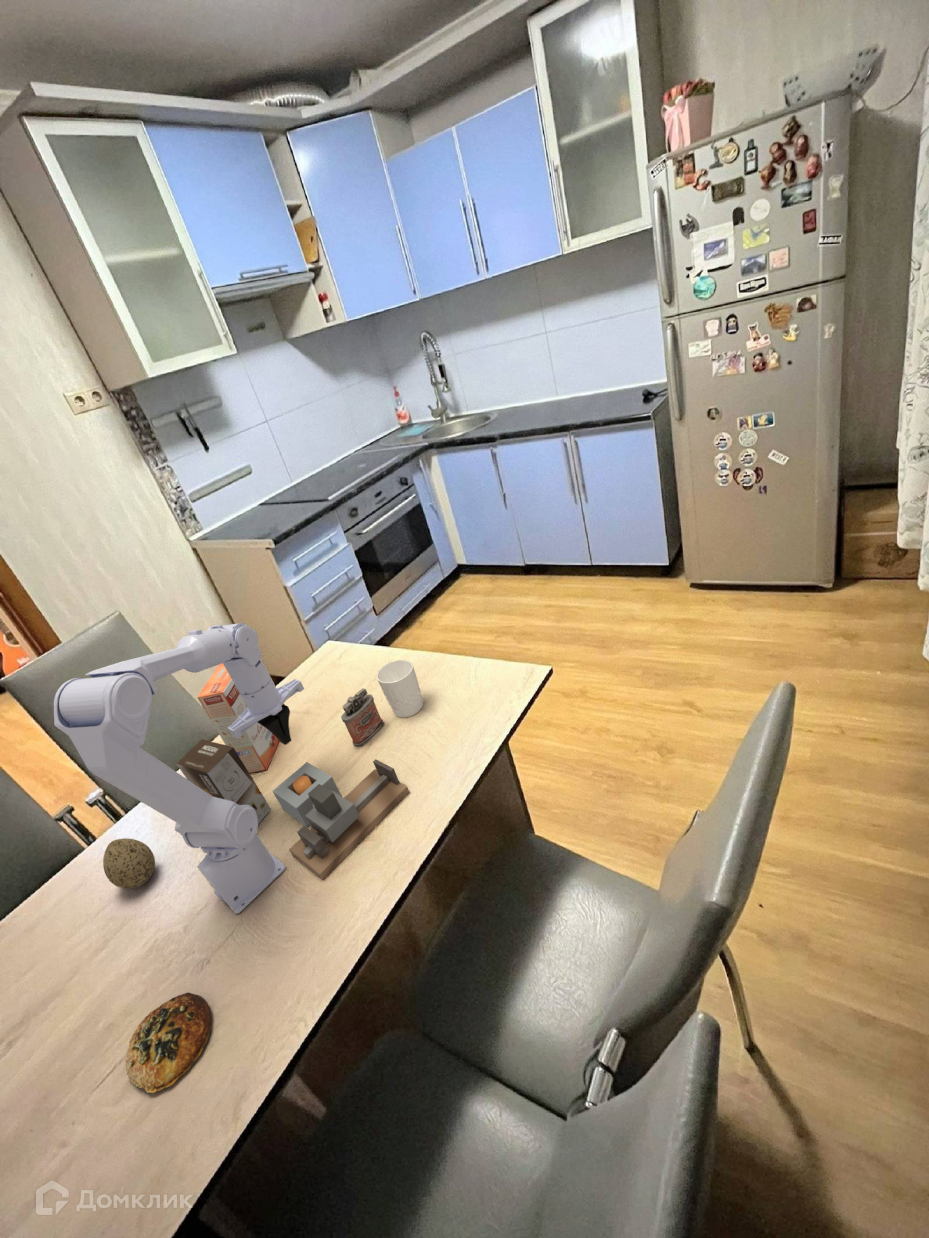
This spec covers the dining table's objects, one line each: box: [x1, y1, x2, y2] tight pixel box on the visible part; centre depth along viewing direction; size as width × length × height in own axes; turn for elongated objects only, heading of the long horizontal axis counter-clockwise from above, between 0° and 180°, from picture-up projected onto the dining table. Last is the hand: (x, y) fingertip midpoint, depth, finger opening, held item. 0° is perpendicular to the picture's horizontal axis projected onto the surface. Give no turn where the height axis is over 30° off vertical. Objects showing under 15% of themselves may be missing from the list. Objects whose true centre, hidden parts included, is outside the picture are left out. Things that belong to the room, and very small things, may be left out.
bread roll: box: [125, 992, 212, 1094], centre depth 74 cm, size 11×11×5 cm
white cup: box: [375, 659, 424, 718], centre depth 121 cm, size 8×8×10 cm
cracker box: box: [197, 663, 280, 774], centre depth 118 cm, size 14×6×21 cm, turn 179°
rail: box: [288, 759, 410, 881], centre depth 98 cm, size 20×9×5 cm, turn 139°
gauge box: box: [272, 761, 342, 828], centre depth 104 cm, size 8×8×5 cm
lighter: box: [340, 687, 385, 748], centre depth 116 cm, size 8×3×10 cm, turn 143°
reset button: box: [293, 776, 312, 796], centre depth 104 cm, size 3×3×4 cm
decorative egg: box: [102, 838, 156, 890], centre depth 97 cm, size 7×7×10 cm
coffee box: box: [176, 739, 272, 825], centre depth 103 cm, size 9×6×16 cm
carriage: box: [305, 784, 360, 843], centre depth 94 cm, size 6×6×7 cm
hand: (285, 741), depth 106 cm, fingers closed
